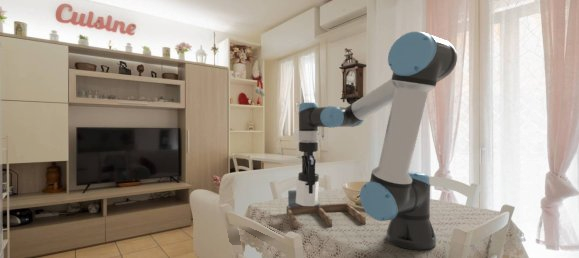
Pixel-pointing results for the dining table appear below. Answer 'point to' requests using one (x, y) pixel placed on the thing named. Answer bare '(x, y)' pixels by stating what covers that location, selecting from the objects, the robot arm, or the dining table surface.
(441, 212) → the dining table surface
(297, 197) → the jar
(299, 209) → the wooden divider rails
